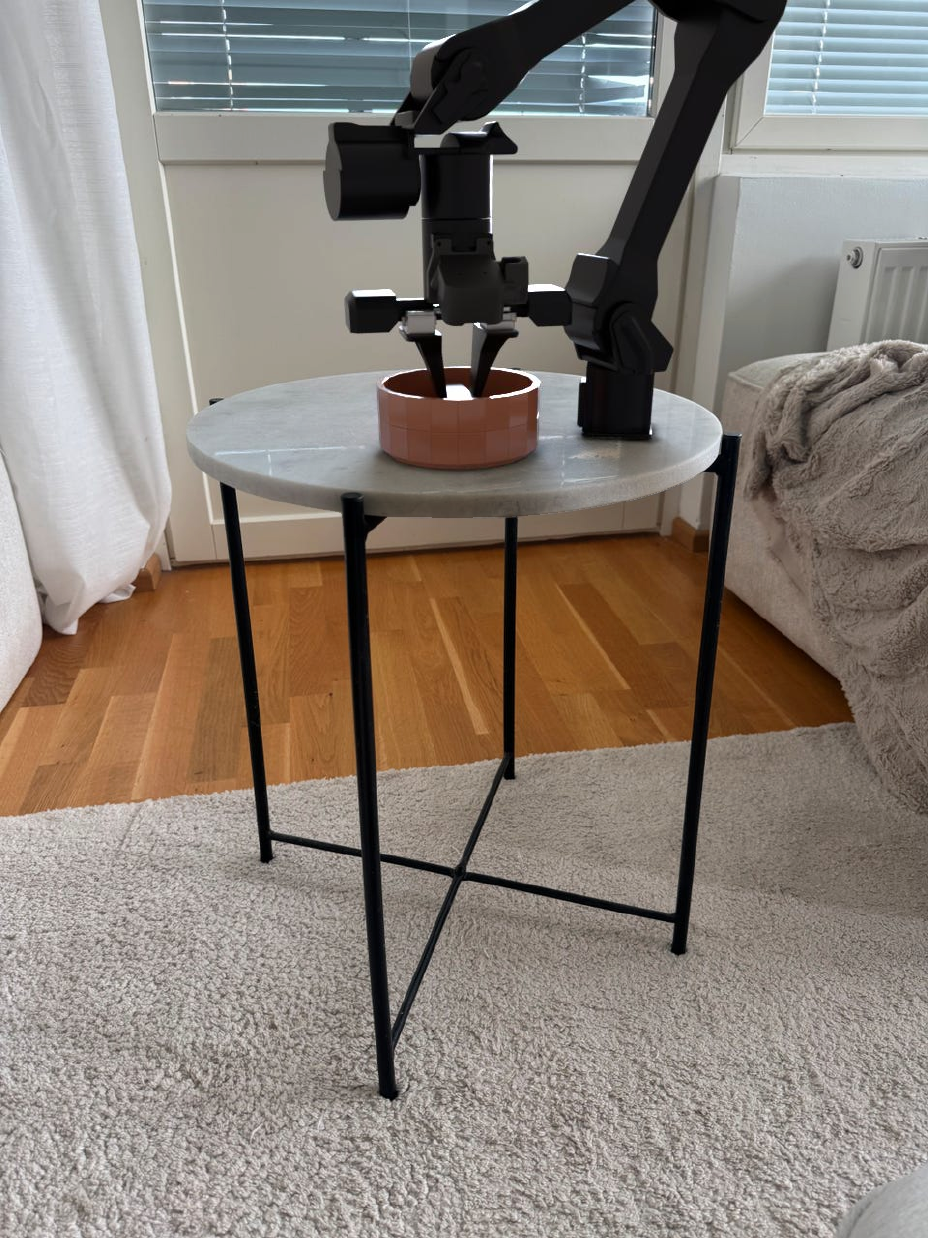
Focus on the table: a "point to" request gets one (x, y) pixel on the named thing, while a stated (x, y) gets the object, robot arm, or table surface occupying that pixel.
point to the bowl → (458, 419)
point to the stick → (457, 391)
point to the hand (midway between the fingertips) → (458, 410)
